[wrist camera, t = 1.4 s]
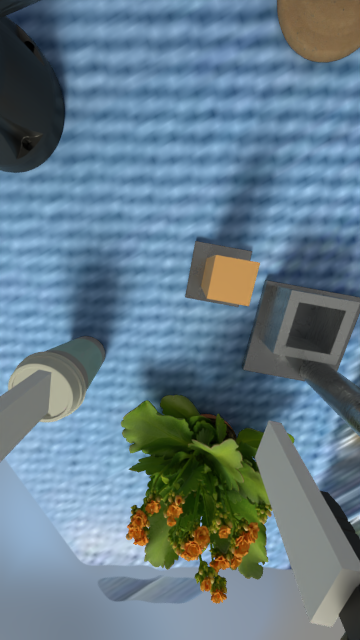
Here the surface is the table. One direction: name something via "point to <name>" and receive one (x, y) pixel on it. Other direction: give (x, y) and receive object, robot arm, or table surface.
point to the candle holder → (321, 27)
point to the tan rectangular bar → (229, 279)
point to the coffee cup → (64, 373)
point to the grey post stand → (306, 342)
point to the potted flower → (198, 491)
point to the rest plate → (198, 267)
